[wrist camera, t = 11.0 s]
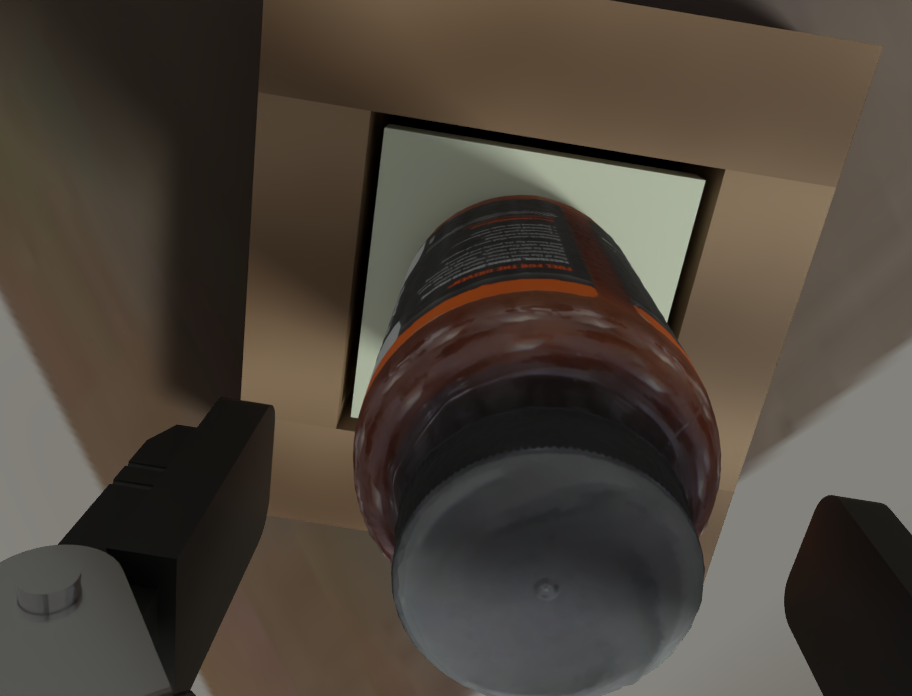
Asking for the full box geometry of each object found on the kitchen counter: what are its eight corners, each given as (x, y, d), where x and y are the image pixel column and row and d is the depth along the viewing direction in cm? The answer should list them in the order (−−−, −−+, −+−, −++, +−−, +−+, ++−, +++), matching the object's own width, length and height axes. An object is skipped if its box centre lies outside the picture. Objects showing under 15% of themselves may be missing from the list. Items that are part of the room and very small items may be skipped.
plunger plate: (389, 123, 20) (384, 127, 19) (695, 174, 20) (705, 180, 19) (356, 401, 22) (350, 417, 22) (623, 444, 23) (629, 461, 22)
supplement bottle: (355, 288, 20) (206, 554, 10) (536, 138, 19) (594, 258, 8) (499, 446, 22) (506, 826, 11) (678, 320, 20) (883, 622, 10)
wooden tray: (306, -39, 21) (266, -58, 17) (814, 45, 21) (883, 46, 17) (270, 444, 26) (234, 510, 23) (673, 508, 27) (703, 583, 23)
